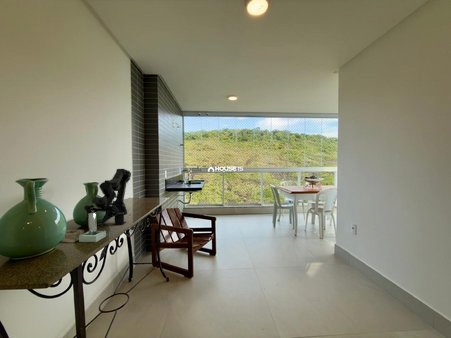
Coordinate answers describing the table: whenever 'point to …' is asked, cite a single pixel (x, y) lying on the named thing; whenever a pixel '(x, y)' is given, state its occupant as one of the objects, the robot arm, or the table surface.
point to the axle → (92, 223)
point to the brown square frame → (72, 235)
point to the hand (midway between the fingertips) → (93, 223)
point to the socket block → (92, 237)
